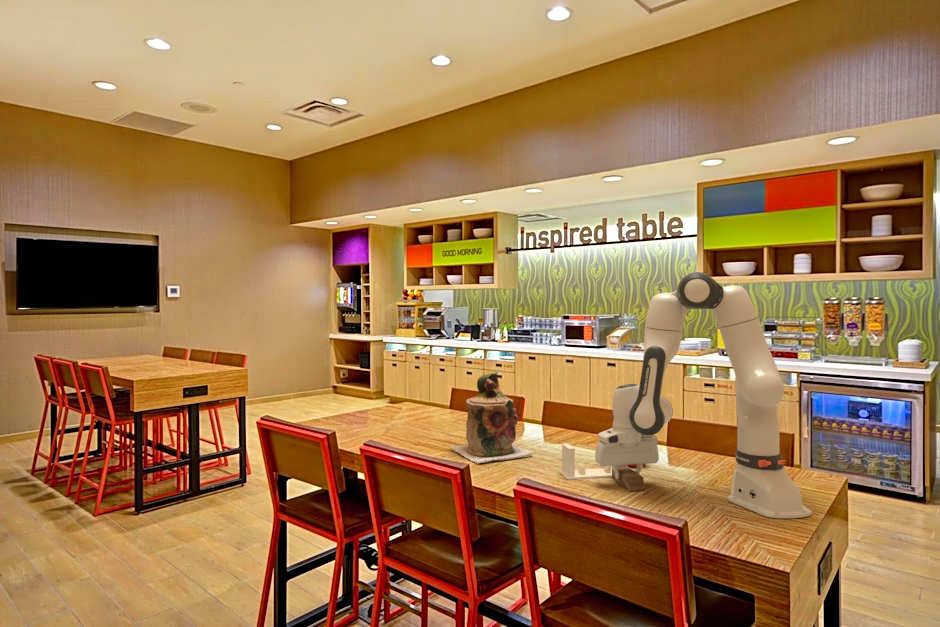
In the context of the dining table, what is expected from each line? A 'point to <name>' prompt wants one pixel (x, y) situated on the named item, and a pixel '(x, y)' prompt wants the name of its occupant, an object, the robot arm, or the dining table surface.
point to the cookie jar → (490, 425)
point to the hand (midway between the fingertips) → (627, 478)
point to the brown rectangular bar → (629, 478)
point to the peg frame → (580, 466)
